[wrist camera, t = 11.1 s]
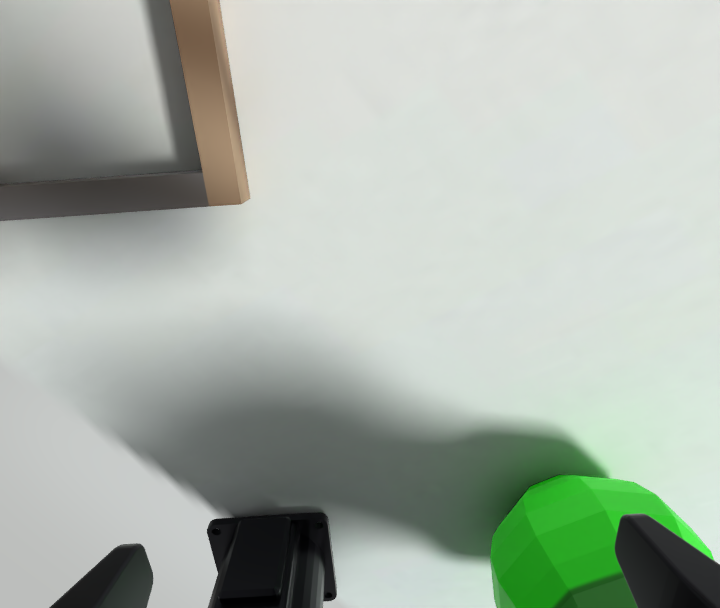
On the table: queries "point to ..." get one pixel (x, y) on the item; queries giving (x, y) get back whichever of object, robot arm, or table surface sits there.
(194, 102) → the rectangular wooden frame
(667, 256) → the table surface
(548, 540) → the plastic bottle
